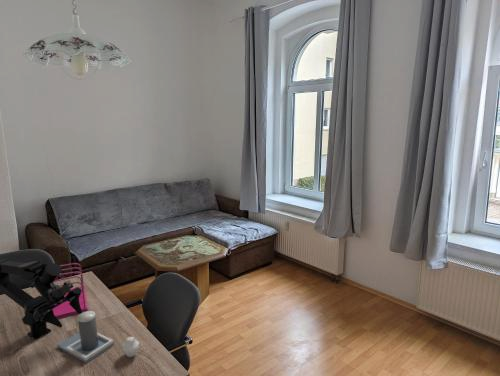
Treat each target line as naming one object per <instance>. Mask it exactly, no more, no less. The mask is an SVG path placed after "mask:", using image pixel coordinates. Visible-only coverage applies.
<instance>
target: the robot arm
mask: <svg viewBox="0 0 500 376" xmlns="http://www.w3.org/2000/svg"><path fill="white" fill-rule="evenodd" d="M62 272H63V271H62V267H61V266H60V264H57V263H54V262H51V261H47V262H45V263H43V262H41V261H40V260H33V261H30V262H19V261H11V260H10V261H9V260H8V259H4V260H0V292H1V293H2V294H4V295H6V296H7V297H8V298H9V299H11V300H12V301H13V302H14V303H16V304H17V305H19V306H20V307H21V308H23V313H24V316H23V317H22V319H21V320H22V323H23V324H24V325H27V326H29V329H30V331H29V332H27V336H29V337H31V338H32V339H34V340H37V339H39V338H41V337H43V336H45V335H46V334H49V333H51V332H52V329H50V328H48V326H47V324H51V325H53V326H55V327H58V328H62V327H63V324H62V323H61V321H60V319H59V318H58V319H57V317H56V316H55V315H54V313H53V309H54V308H55V307H57V306H59V305H61V304H62V303H64V302H66V301H68V302H70V303H69V305H70V306H71V307H72V308H73V309H74V310H75V311H76V312H77V313H78V315H80V314H81V313H83V312H82V310H81V307H80V303H79V296H80V295H81V292H82V290H81V289H80V288H79V287H80V286H76V287H74V285H73V284H72V282H71V280H67V281H65V282H63V283H62V285H64V286H59V285H60V284H56V283H55V282H54V281H55V280H58V278H59V276H61V275H60V274H62ZM10 274H11V275H16V276H19V277H20V279H22V280H24V281H30V280H31V285H30V288H31V289H33V288H35V289H36V291H37V292H38V293H39V294H40V295H37V296H36V297H33V296H32V295H31V294H29V293H28V292H26V291H25V290H24V289H22V288H21V287H20V286H18V285H17V284H15V283H14V282H13V281H11V280H10ZM71 288H74V289H73V290H71ZM68 292H69V293H68ZM67 293H68V294H67ZM66 294H67V295H66ZM65 295H66V296H65ZM64 296H65V297H64ZM55 304H56V305H55Z"/></svg>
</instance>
